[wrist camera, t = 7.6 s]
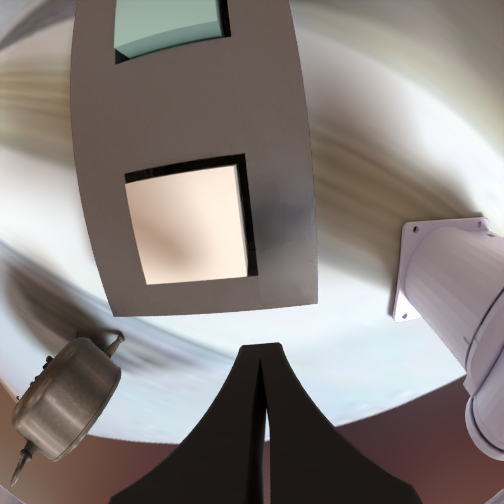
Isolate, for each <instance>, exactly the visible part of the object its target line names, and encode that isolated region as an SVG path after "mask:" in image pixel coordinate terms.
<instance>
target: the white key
mask: <svg viewBox="0 0 504 504" xmlns="http://www.w3.org/2000/svg"><path fill="white" fill-rule="evenodd" d="M125 187H126V193H127V199H128V205H129V210H130V215H131V220H132V225H133V230H134V234H135V239H136V243H137V248H138V252H139V256H140V260H141V264H142V268H143V272H144V276H145V279H146V283H147V285H148V284H162V283H176V282H189V281H201V280H213V279H225V278H236V277H247V267H248V250H249V247H248V238H247V230H246V221H245V213H244V204H243V196H242V187H241V178H240V170H239V163H238V164H230V165H222V166H214V167H207V168H200V169H194V170H188V171H181V172H176V173H170V174H164V175H159V176H154V177H150V178H146V179H142V180H138V181H135V182H131V183H128V184H125Z"/></svg>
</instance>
